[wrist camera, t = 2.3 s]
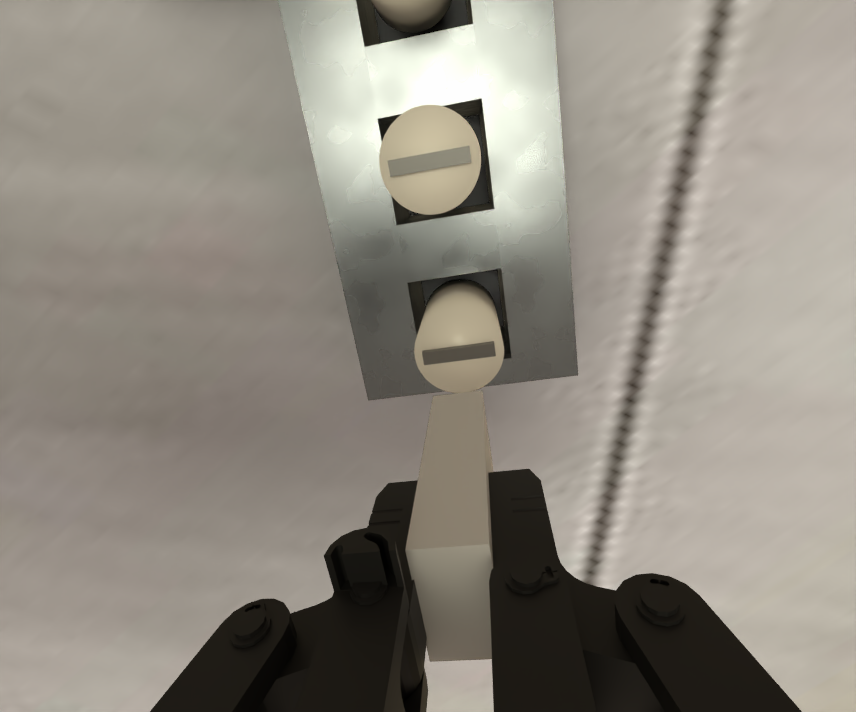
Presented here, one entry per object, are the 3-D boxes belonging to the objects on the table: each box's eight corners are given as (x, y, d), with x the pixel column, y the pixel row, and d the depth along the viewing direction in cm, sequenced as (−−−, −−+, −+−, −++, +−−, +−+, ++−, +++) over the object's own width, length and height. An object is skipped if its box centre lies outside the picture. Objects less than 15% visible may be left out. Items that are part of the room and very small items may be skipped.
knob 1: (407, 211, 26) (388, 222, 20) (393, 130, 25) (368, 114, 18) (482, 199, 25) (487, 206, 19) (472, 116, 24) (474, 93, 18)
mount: (384, 363, 34) (368, 400, 28) (298, -49, 26) (252, -111, 20) (558, 340, 32) (578, 375, 27) (523, -105, 25) (540, -188, 19)
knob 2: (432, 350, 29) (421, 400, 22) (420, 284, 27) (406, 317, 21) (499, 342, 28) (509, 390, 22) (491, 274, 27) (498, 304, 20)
